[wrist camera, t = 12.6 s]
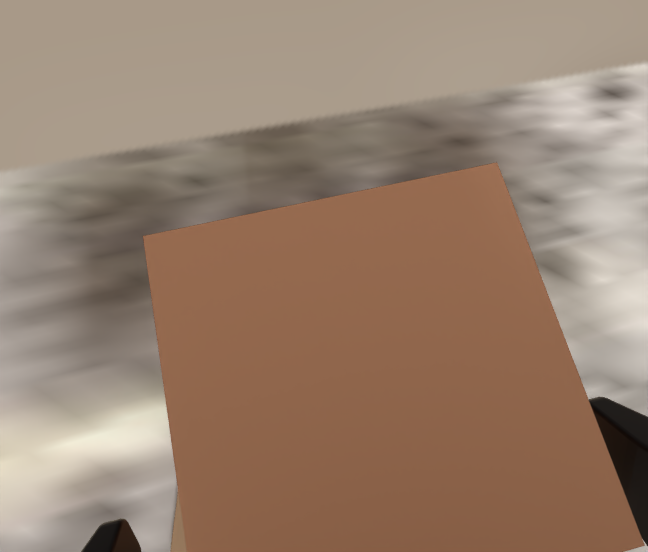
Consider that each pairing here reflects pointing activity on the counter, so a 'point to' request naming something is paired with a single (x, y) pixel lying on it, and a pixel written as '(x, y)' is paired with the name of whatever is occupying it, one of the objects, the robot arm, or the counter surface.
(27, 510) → the counter surface
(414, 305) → the terracotta block
